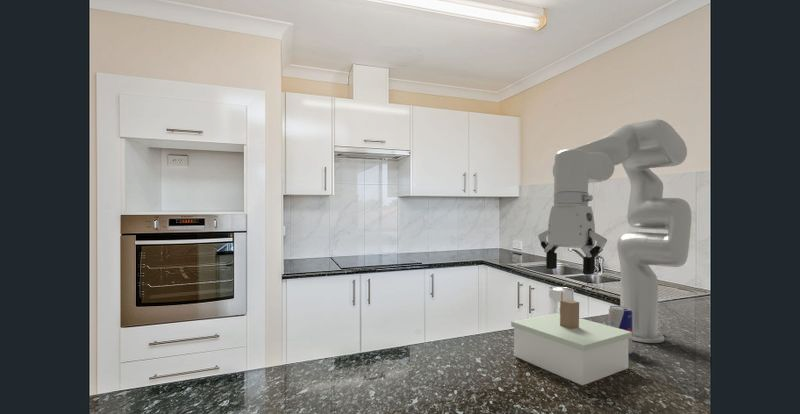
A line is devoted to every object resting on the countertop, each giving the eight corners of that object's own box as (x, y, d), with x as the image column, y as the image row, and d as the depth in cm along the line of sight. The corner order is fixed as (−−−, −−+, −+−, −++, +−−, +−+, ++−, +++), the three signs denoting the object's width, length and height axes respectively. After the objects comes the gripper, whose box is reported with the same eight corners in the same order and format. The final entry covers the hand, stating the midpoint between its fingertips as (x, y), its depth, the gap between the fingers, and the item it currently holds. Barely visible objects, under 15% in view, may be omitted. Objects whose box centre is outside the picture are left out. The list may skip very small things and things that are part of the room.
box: (558, 346, 100) (559, 317, 100) (628, 371, 84) (628, 336, 85) (513, 358, 90) (514, 326, 91) (582, 389, 75) (582, 350, 75)
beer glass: (568, 337, 108) (569, 286, 108) (577, 345, 101) (578, 291, 101) (544, 336, 109) (545, 285, 109) (551, 344, 102) (552, 290, 102)
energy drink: (635, 358, 92) (636, 311, 93) (612, 356, 93) (613, 309, 94) (627, 351, 98) (627, 306, 98) (605, 349, 99) (605, 304, 99)
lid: (558, 316, 101) (559, 290, 101) (631, 337, 84) (632, 306, 85) (511, 326, 91) (511, 297, 91) (583, 351, 75) (583, 316, 75)
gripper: (615, 200, 83) (614, 276, 82) (549, 202, 98) (547, 266, 97) (596, 198, 79) (595, 277, 78) (530, 200, 94) (529, 267, 93)
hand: (569, 271), depth 88 cm, fingers open, 9 cm apart
